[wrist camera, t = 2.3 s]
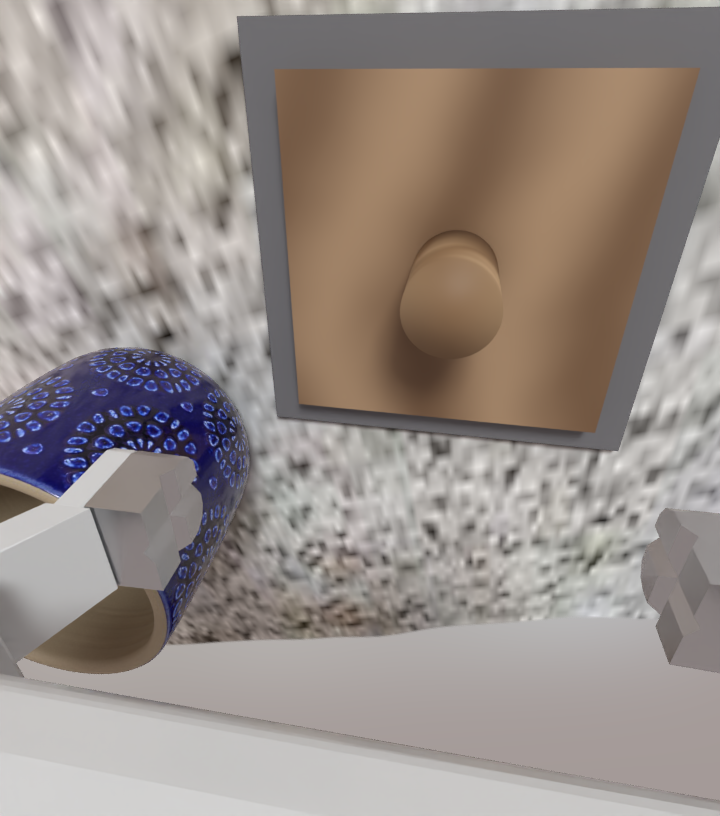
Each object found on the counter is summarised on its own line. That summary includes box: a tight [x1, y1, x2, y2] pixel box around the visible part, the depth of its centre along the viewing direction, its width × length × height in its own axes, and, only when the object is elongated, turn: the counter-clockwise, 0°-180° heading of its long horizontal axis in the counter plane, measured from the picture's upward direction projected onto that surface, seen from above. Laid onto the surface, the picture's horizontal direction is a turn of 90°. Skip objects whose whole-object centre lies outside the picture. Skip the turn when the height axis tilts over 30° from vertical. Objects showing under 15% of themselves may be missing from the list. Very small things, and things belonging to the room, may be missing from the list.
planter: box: [0, 347, 250, 674], centre depth 23 cm, size 11×11×11 cm
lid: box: [274, 68, 700, 433], centre depth 19 cm, size 13×13×5 cm
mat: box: [237, 7, 720, 451], centre depth 21 cm, size 16×16×1 cm
